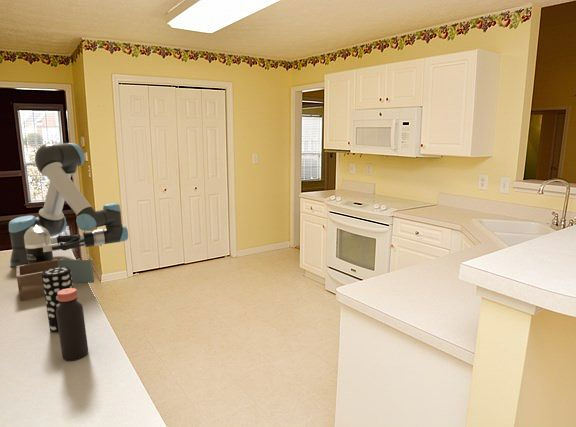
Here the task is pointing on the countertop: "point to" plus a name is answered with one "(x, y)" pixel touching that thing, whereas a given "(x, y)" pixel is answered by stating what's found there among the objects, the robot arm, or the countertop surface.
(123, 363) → the countertop surface
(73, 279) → the bay door
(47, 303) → the spotted tube
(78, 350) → the vinegar
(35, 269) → the bay
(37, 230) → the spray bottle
